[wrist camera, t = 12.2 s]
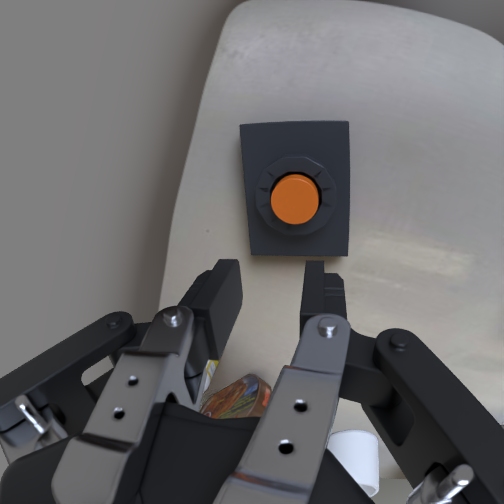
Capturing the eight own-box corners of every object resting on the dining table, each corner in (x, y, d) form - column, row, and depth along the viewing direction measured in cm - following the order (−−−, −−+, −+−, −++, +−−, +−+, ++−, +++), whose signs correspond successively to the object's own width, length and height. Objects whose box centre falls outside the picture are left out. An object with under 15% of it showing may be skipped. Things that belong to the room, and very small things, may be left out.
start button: (272, 174, 24) (269, 179, 22) (317, 173, 23) (318, 178, 22) (275, 217, 25) (272, 224, 24) (318, 217, 25) (318, 224, 23)
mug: (332, 426, 41) (328, 481, 32) (387, 431, 40) (390, 483, 31) (309, 457, 47) (303, 503, 38) (357, 462, 46) (356, 506, 37)
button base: (245, 124, 26) (233, 125, 22) (346, 120, 24) (351, 121, 20) (255, 245, 31) (246, 264, 27) (346, 246, 29) (349, 265, 25)
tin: (263, 364, 38) (249, 415, 30) (280, 376, 38) (270, 427, 31) (200, 401, 45) (183, 442, 37) (216, 411, 45) (200, 452, 38)
